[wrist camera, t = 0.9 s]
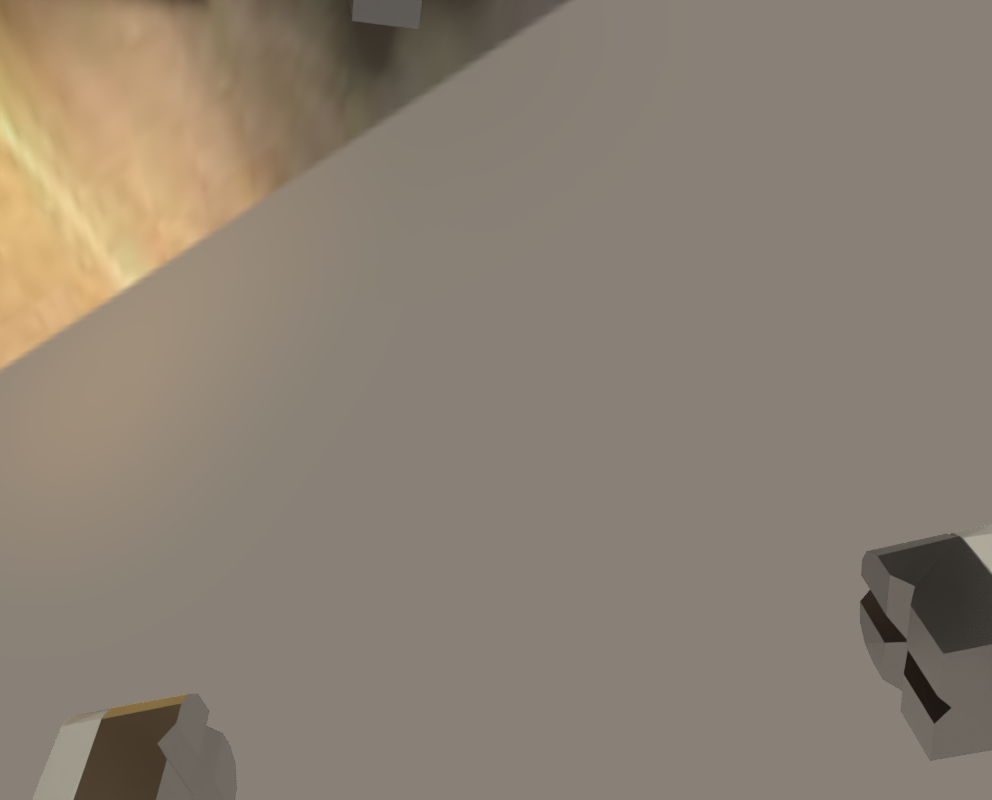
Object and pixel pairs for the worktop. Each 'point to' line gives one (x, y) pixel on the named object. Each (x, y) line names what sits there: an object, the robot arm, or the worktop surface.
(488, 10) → the worktop surface
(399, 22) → the collar
